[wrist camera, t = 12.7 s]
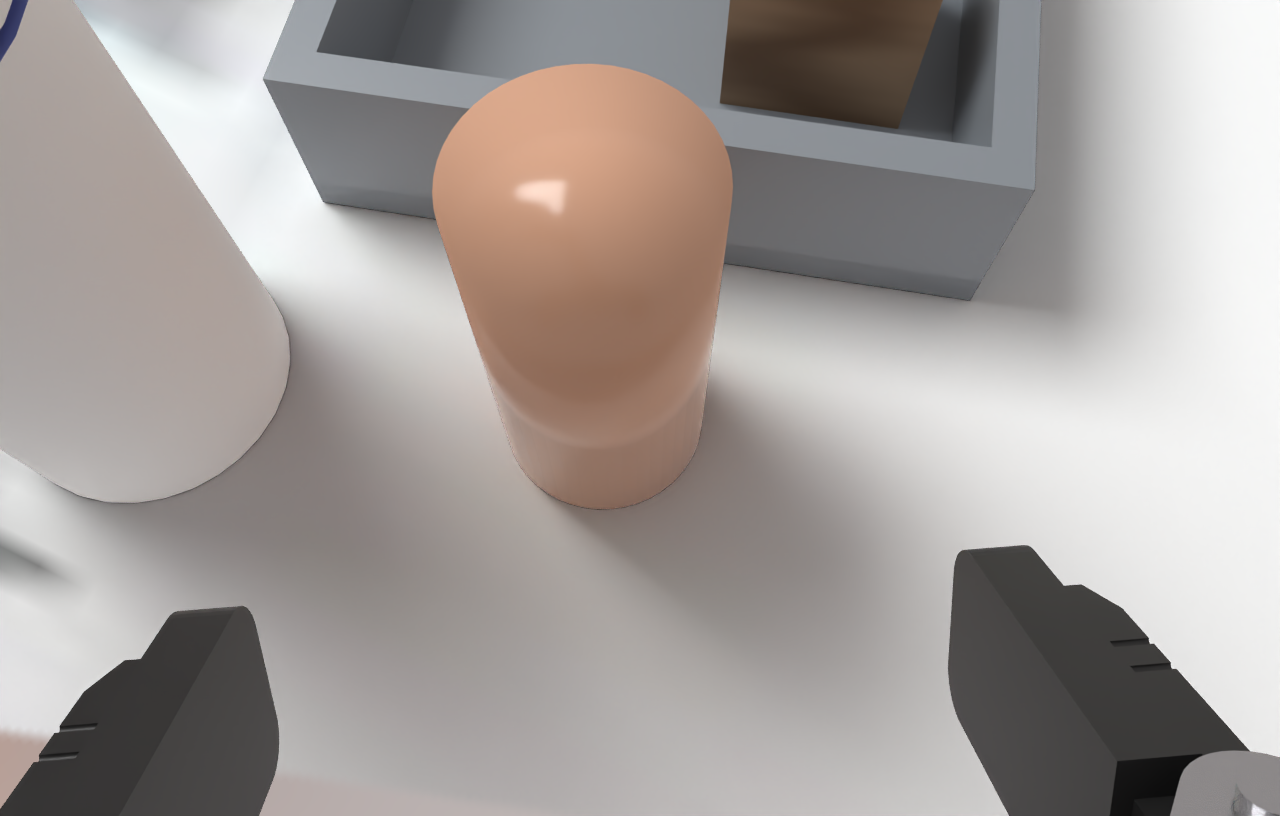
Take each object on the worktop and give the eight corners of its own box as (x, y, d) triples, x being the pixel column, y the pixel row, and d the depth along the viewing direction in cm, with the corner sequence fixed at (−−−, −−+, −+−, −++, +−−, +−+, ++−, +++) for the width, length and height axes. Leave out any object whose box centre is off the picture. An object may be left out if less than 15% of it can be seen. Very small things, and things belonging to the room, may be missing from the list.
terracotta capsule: (485, 491, 26) (397, 287, 16) (530, 315, 28) (472, 46, 18) (685, 525, 25) (708, 336, 16) (715, 344, 27) (751, 84, 18)
